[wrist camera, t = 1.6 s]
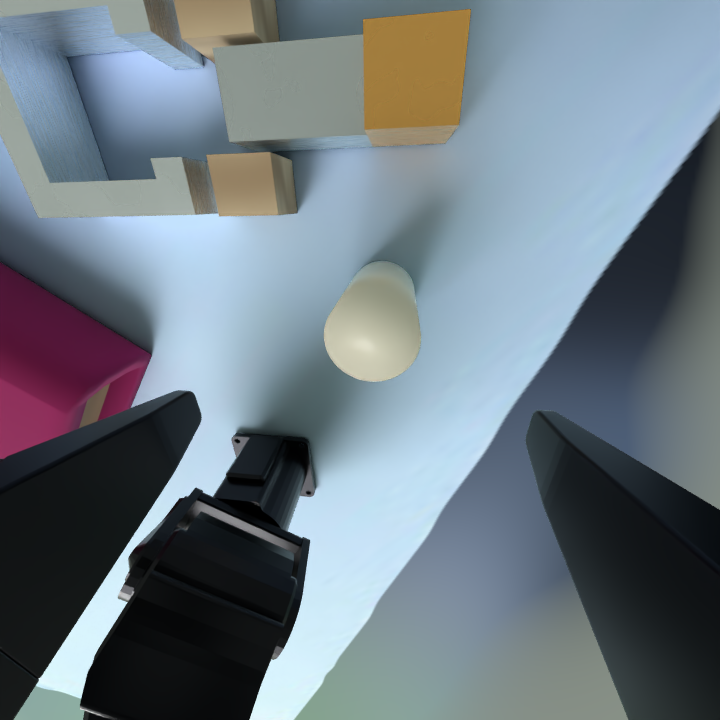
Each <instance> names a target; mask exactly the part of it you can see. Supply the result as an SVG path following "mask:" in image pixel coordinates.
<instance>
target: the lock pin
mask: <svg viewBox="0 0 720 720" xmlns="http://www.w3.org/2000/svg"><path fill="white" fill-rule="evenodd" d="M470 14H471V9H466V10H455V11H445V12H434V13H424V14H413V15H403V16H392V17H382V18H372V19H363V34H359V35H348V36H337V37H326V38H315V39H304V40H293V41H282V42H271V43H259V44H248V45H237V46H226V47H215V48H213V54H214V60H215V65H216V71H217V76H218V82H219V88H220V93H221V99H222V104H223V110H224V115H225V121H226V127H227V132H228V138H229V142H231V143H234V144H237V145H240V146H242V147H245V148H248V149H251V150H254V151H257V152H270V151H292V150H313V149H335V148H357V147H379V146H401V145H423V144H445V143H446V142H447V141H448V139H449V138H450V137H451V135H452V134H453V132H454V131H455V130H456V128H457V127H458V126H459V121H460V111H461V101H462V92H463V82H464V72H465V62H466V53H467V43H468V33H469V24H470Z"/></svg>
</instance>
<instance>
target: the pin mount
mask: <svg viewBox="0 0 720 720" xmlns="http://www.w3.org/2000/svg"><path fill="white" fill-rule="evenodd" d="M174 5H175V9H176V14H177V19H178V24H179V28H180V33H181V38H182V40H184V41H185V42H187V43H188V44H189V45H191V46H192V47H193V48H195V49H196V50H197V51H199V52H200V53H201V54H203V55H204V56H205V57H207V58H208V59H209V60H211V61H212V62H213V63H215V60H214V54H213V48H215V47H226V46H237V45H248V44H259V43H271V42H280V41H279V31H278V22H277V12H276V3H275V0H174ZM206 156H207V161H208V166H209V170H210V175H211V180H212V185H213V189H214V194H215V199H216V204H217V208H218V213H219V216H257V215H284V214H294V213H297V205H296V195H295V185H294V176H293V166H292V160H290V159H287V158H285V157H282V156H279V155H277V154H274V153H271V152H258V153H236V154H214V155H206Z"/></svg>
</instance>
